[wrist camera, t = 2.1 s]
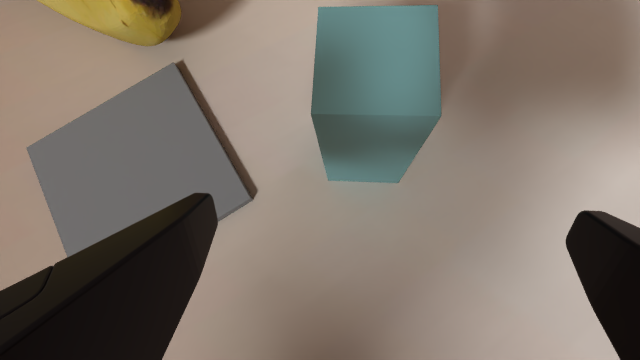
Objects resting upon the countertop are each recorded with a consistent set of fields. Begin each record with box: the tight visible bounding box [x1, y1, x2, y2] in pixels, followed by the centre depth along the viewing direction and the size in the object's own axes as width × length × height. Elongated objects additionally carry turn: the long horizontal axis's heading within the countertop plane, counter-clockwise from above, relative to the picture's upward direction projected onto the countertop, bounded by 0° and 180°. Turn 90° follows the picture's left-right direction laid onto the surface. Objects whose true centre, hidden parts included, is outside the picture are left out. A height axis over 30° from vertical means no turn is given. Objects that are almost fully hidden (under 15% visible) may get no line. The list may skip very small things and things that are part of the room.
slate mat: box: [27, 62, 253, 257], centre depth 22 cm, size 12×12×1 cm
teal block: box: [311, 5, 441, 183], centre depth 17 cm, size 4×4×10 cm
